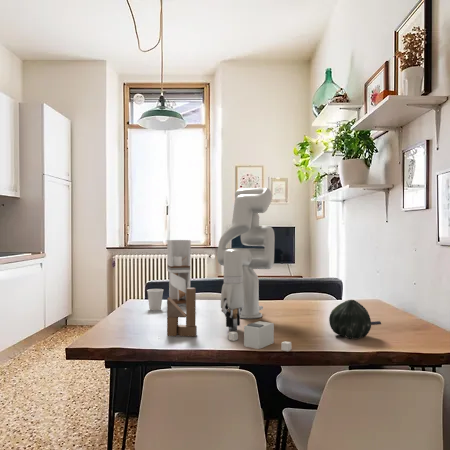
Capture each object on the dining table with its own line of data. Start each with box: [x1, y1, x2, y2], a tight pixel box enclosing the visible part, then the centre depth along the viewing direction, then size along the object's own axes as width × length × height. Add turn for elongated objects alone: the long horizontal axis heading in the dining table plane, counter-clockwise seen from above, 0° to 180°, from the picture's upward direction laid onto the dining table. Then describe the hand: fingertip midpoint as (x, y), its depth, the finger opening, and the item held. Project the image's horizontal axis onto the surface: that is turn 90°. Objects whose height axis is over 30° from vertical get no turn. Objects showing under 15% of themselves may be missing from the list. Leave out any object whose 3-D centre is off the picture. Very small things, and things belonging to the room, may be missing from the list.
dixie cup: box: [146, 288, 164, 312], centre depth 212 cm, size 8×8×10 cm
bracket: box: [371, 320, 382, 326], centre depth 185 cm, size 14×15×3 cm
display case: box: [166, 239, 192, 307], centre depth 229 cm, size 11×11×35 cm
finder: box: [243, 321, 275, 350], centre depth 146 cm, size 10×6×7 cm, turn 144°
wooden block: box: [166, 287, 198, 338], centre depth 159 cm, size 4×11×18 cm, turn 83°
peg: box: [228, 308, 238, 332], centre depth 167 cm, size 4×4×9 cm
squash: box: [328, 299, 372, 340], centre depth 157 cm, size 14×15×15 cm
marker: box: [280, 340, 292, 352], centre depth 139 cm, size 2×2×2 cm
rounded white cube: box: [228, 331, 239, 342], centre depth 152 cm, size 2×2×2 cm
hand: (232, 325), depth 167 cm, fingers closed on peg, 3 cm apart
